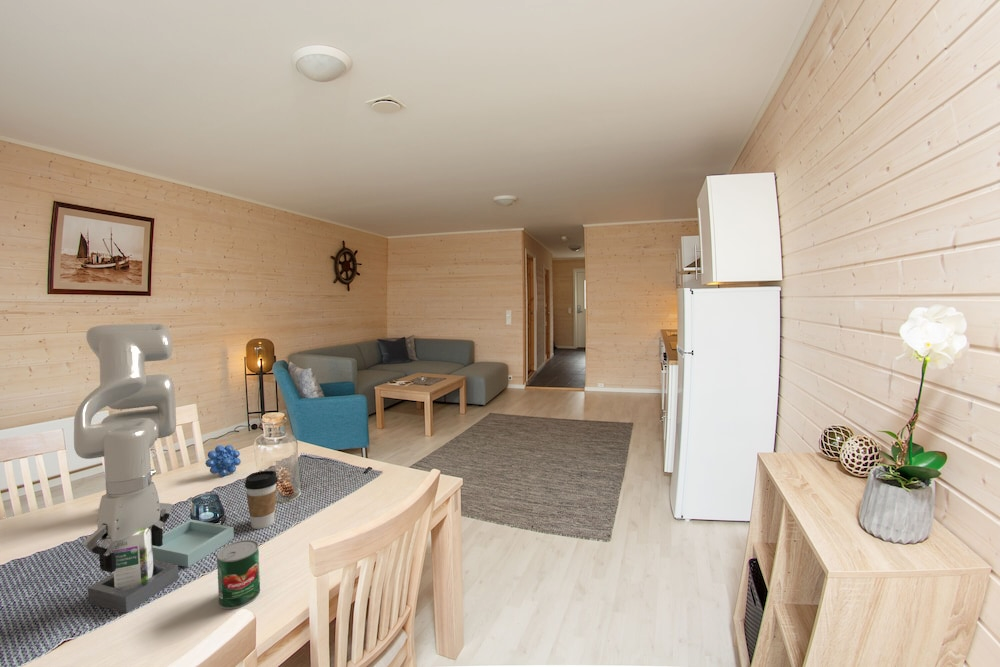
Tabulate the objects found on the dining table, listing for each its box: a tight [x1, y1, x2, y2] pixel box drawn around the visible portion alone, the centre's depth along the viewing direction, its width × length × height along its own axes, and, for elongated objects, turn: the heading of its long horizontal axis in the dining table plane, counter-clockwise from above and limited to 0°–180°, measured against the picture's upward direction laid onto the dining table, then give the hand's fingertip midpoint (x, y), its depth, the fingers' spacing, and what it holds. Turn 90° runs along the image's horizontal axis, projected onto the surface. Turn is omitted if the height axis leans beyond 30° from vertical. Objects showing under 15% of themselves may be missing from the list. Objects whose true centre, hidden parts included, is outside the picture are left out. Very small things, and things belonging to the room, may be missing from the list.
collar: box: [87, 560, 179, 614], centre depth 94 cm, size 11×11×4 cm
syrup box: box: [111, 527, 154, 591], centre depth 94 cm, size 6×6×14 cm
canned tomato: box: [216, 539, 261, 610], centre depth 92 cm, size 8×8×11 cm
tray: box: [152, 519, 235, 568], centre depth 111 cm, size 15×13×3 cm
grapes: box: [205, 444, 242, 477], centre depth 154 cm, size 12×7×12 cm, turn 146°
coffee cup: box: [244, 470, 278, 530], centre depth 122 cm, size 8×8×15 cm
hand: (133, 557), depth 93 cm, fingers open, 9 cm apart
